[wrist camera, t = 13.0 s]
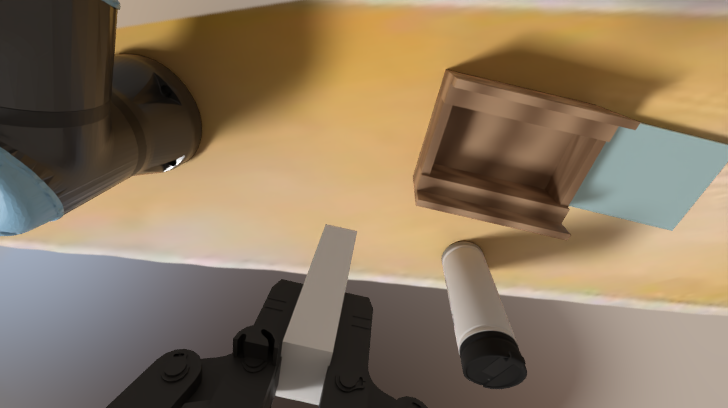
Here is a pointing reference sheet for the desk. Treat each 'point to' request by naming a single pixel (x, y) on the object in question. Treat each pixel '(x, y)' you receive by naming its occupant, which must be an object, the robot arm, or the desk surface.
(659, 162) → the cover plate
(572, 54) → the desk surface
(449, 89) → the box
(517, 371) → the travel mug
